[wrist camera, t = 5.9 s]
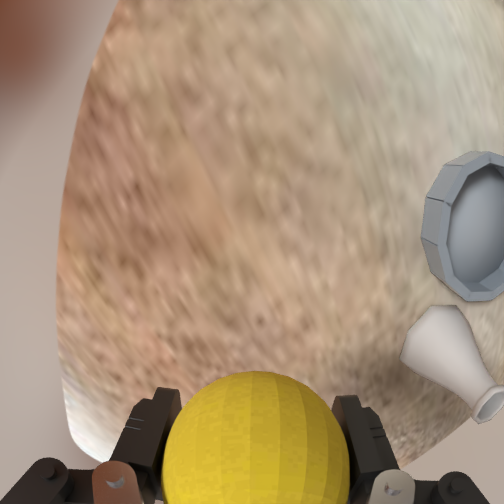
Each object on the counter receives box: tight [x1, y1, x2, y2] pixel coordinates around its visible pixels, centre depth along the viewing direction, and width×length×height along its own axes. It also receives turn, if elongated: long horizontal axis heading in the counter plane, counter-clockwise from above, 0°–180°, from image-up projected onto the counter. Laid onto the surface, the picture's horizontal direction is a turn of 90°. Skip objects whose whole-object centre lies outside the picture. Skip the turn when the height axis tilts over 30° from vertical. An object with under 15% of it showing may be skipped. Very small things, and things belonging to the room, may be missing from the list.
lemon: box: [161, 371, 350, 504], centre depth 8 cm, size 6×6×8 cm
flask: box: [399, 305, 504, 424], centre depth 19 cm, size 7×7×10 cm
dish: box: [421, 152, 504, 301], centre depth 19 cm, size 12×12×2 cm
